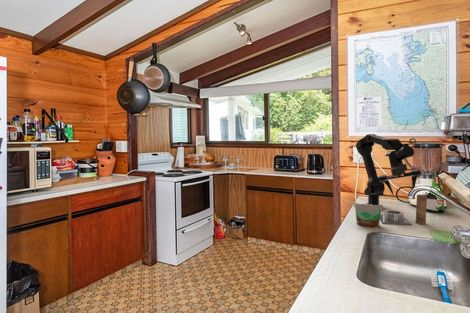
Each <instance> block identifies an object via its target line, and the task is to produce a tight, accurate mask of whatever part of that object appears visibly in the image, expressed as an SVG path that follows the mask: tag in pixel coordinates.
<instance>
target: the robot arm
mask: <svg viewBox="0 0 470 313" xmlns="http://www.w3.org/2000/svg"><path fill="white" fill-rule="evenodd" d="M375 144H377V145H380V146H381V148H383V149H384V150H386V151H387V152H386V154H385V157H388V161H389V165H390V171H391V175H387V174H381V175H379V176H378V172H377V170H376V166H375V163H374V160H373V156H372V151H373V147H374V146H375ZM355 148H356V150H357V153H358V154H359V155H360V156H361V157H362V161H363V164H364V168H365V170H366V175H367V178H368V179H367V182H366V187H365V189H364V190H363V191H364V195H366V196H367V198H368V199H367V203H366V204H372V205H380V196H384V193H385V189H386V187H385V185H386V186H387V188H388V189H389V191H390V193H391V195H392V196H393V195H394V190H393V188H392V185H391V182H390V180H395V179H401V178H402V179H403V178H407V177H411V185H412V189H413V188H414V187H415V188H416V183H417V180H418V179H420V177H422V176H423V175H422V172H421V170H420V169H412V170H410V172H407V171H409V170H408V166H407V165H408V164H407V163H404V162H403V160H406V159H409V158H411V157H413V156H414V155H415V150H414V149H413V148H412V146H411V145H410V144H409V143H402V142H401V140H400V139H399V138H387V137H383V136H379V135H377V134H374V133H371V134H370V133H368V134H366V135H365V136H363V137H362V138H360V139H359V140H358V141H357V142H356V144H355Z"/></svg>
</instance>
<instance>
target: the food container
mask: <svg viewBox="0 0 470 313" xmlns="http://www.w3.org/2000/svg"><path fill="white" fill-rule="evenodd" d="M353 207H354V208H355V218H356V224H357V225H358V226H361V227H364V228H365V227H366V228H378V227H379V225H380V215H381V212H382V210H383V204H382V203H380V204H379V205H372V204H367V203H363V204H361V203H357V202H356V201H355V202H354V203H353Z"/></svg>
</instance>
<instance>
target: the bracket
mask: <svg viewBox="0 0 470 313" xmlns="http://www.w3.org/2000/svg"><path fill="white" fill-rule="evenodd" d="M379 222H380V223H381V224H383V225H385V224H386V225H404V226H405V225H406V226H412V222H410V220H409V219H407V217H406V216H405V212H403V211H400V210H395V209H385V210H383V214H380V220H379Z"/></svg>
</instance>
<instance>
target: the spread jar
mask: <svg viewBox="0 0 470 313" xmlns="http://www.w3.org/2000/svg"><path fill="white" fill-rule="evenodd" d="M437 189H438V190H439V191H440V192H441V190H440V188H437ZM424 192H425V191H424ZM424 192H423V193H424ZM421 194H422V193H421ZM422 195H426V196H427V207H426V212H428V211H429V213H436V212H435V211H436V210H437V206H436V204H437V197H436V196H435V195H433V194H431V193H427V192H425V193H424V194H422Z"/></svg>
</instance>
